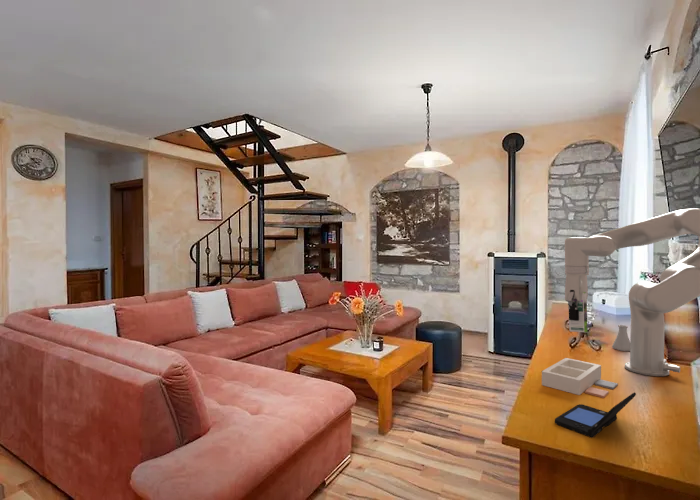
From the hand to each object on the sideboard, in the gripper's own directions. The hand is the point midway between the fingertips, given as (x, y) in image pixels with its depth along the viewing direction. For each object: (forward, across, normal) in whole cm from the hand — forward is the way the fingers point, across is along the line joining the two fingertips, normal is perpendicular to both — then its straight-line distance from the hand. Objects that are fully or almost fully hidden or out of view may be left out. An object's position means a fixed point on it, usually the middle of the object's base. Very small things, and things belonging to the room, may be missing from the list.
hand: (577, 318), depth 143 cm
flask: (+19, -36, +5) cm, 41 cm away
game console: (+18, +47, +19) cm, 53 cm away
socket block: (+18, +19, +7) cm, 27 cm away
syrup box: (+5, 0, 0) cm, 5 cm away
